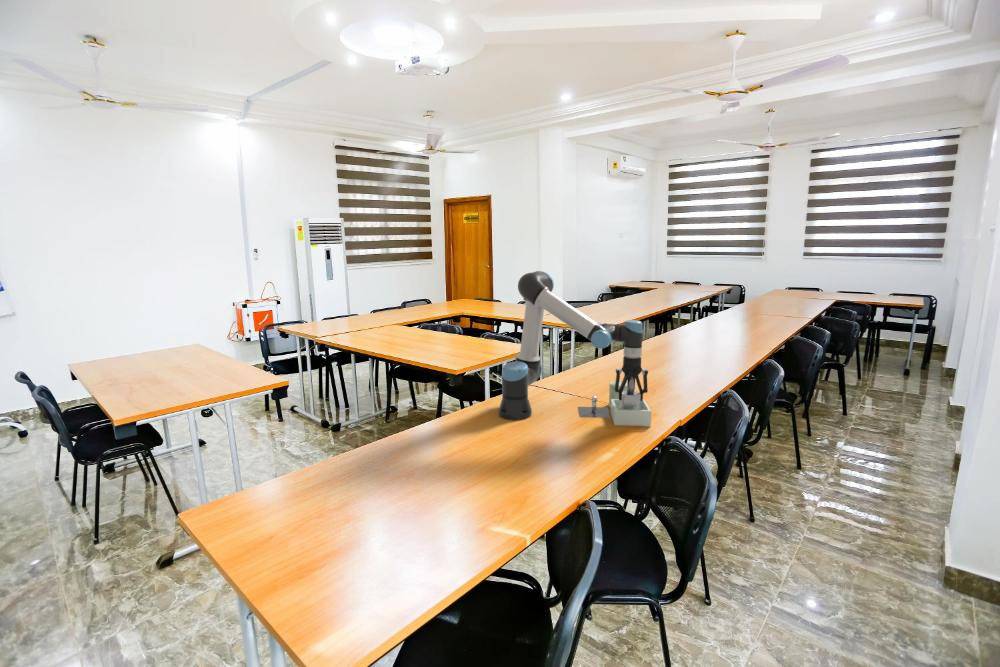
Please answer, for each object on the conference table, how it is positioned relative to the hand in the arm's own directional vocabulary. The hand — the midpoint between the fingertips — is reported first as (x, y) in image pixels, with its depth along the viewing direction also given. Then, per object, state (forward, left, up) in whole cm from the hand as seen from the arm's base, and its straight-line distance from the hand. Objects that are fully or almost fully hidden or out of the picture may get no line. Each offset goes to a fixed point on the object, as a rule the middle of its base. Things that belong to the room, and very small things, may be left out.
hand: (630, 407), depth 217 cm
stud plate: (-15, +8, -6) cm, 18 cm away
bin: (0, 0, -6) cm, 6 cm away
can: (-3, +17, -6) cm, 19 cm away
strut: (0, 0, -3) cm, 3 cm away
